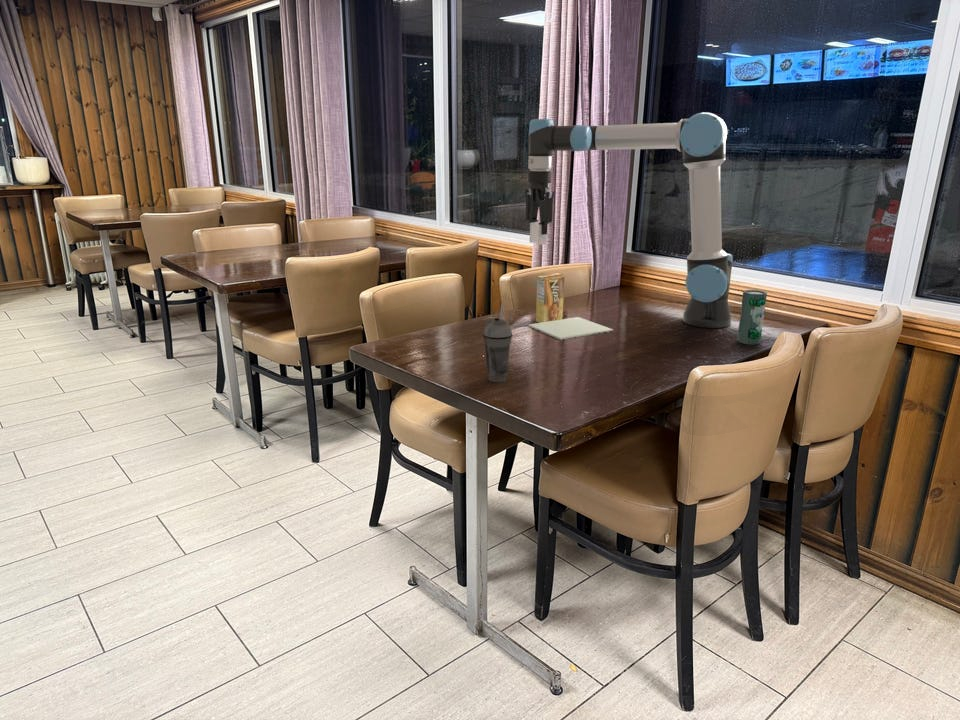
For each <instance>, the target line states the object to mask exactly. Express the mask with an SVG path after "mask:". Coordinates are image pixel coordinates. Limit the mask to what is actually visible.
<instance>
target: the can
mask: <svg viewBox="0 0 960 720" xmlns="http://www.w3.org/2000/svg"><path fill="white" fill-rule="evenodd" d="M742 291H743V292H742V299H741V306H740V307H741V308H740V313H739V314H740V315H739V322H738V323H739V324H738V330H737V331H738V332H737V340H736V341H737V342H738V343H741V344H744V345H759V344H761V339H762V332H763V324H764V317H765V311H766V310H765V309H766V304H767V296H768V293H767V292H766V291H763V290H758V289H757V290H756V289H746V290H742Z"/></svg>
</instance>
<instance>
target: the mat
mask: <svg viewBox="0 0 960 720" xmlns="http://www.w3.org/2000/svg"><path fill="white" fill-rule="evenodd" d="M527 327H529V328H531V329H533V328H534V329H533V330H535V331H538V330H539V331H538V332H541V333H543V334H545V335H548V336H551V337H552V338H555V339H557V340H559V341H563V339H564V340H569V338H570V339H575V338H574V337H576V338H582V337H587V336H593V334H594V335H599V333H600V334H605V333H604V332H606V333H611V332H610V331H612V332H613V331H614V329H613V328H611V327H610V328H609V327H608V326H605V325H602V324H599V323H596V322H593V321H590V320H588V319H585V318H583V317H580V316H576V317H568V318H562V319H561V320H555V321H548V322H541V323H540V322H535V323H531V324H530V323H529V324H528V325H527ZM581 336H582V337H581Z"/></svg>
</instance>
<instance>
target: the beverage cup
mask: <svg viewBox="0 0 960 720" xmlns="http://www.w3.org/2000/svg"><path fill="white" fill-rule="evenodd" d="M504 302H505V301H503V300H502V301H501V306H500V314H499V317H498V318H493V319H491V320H489V321H487V323H486V325H485V326H484V329H483V334H482V336H483V342H484V344H485V345H484V347H485V358H486V367H487V368H486V369H487V377H488V378H487V379H488V381H490V382H492V383H501V382H502V383H503V382H505V381H506V380H507V375H508V370H509V369H508V368H509V360H510V359H509V356H510V350H511V349H510V347H511V343H512V337H513V332H512V327H511V325H510V324H509V322H507V321H506V320H505V319H504V318H502V317H503V311H504V304H505V303H504Z"/></svg>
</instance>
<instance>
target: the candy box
mask: <svg viewBox="0 0 960 720" xmlns="http://www.w3.org/2000/svg"><path fill="white" fill-rule="evenodd" d="M564 288H565V274H562V273H557V272H556V273H549V274H544V275H543V274H542V275H537V277H536V306H535V307H536V309H535V312H536V313H535V323H541V322H548V321H555V320H561V319H563V316H564V315H563V312H564V311H563V310H564V293H565V289H564Z"/></svg>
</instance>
